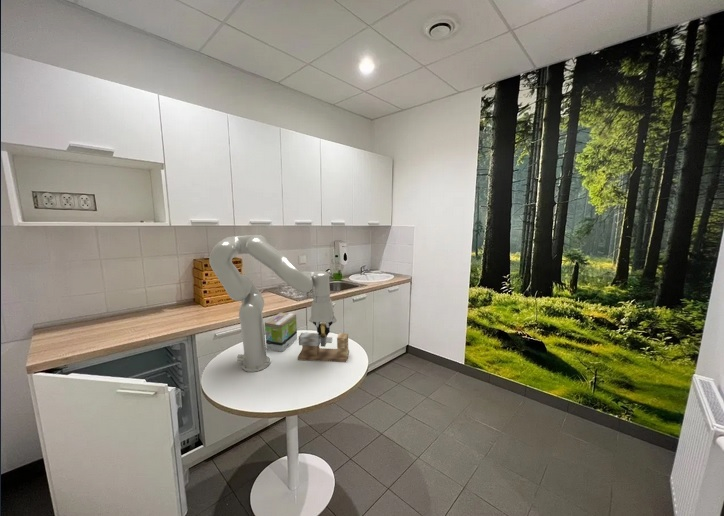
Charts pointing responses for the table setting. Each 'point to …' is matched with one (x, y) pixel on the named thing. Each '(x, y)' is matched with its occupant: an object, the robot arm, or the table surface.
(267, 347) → the tea box
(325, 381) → the table surface
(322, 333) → the brass knob sliding bolt
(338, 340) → the socket block
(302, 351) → the base
